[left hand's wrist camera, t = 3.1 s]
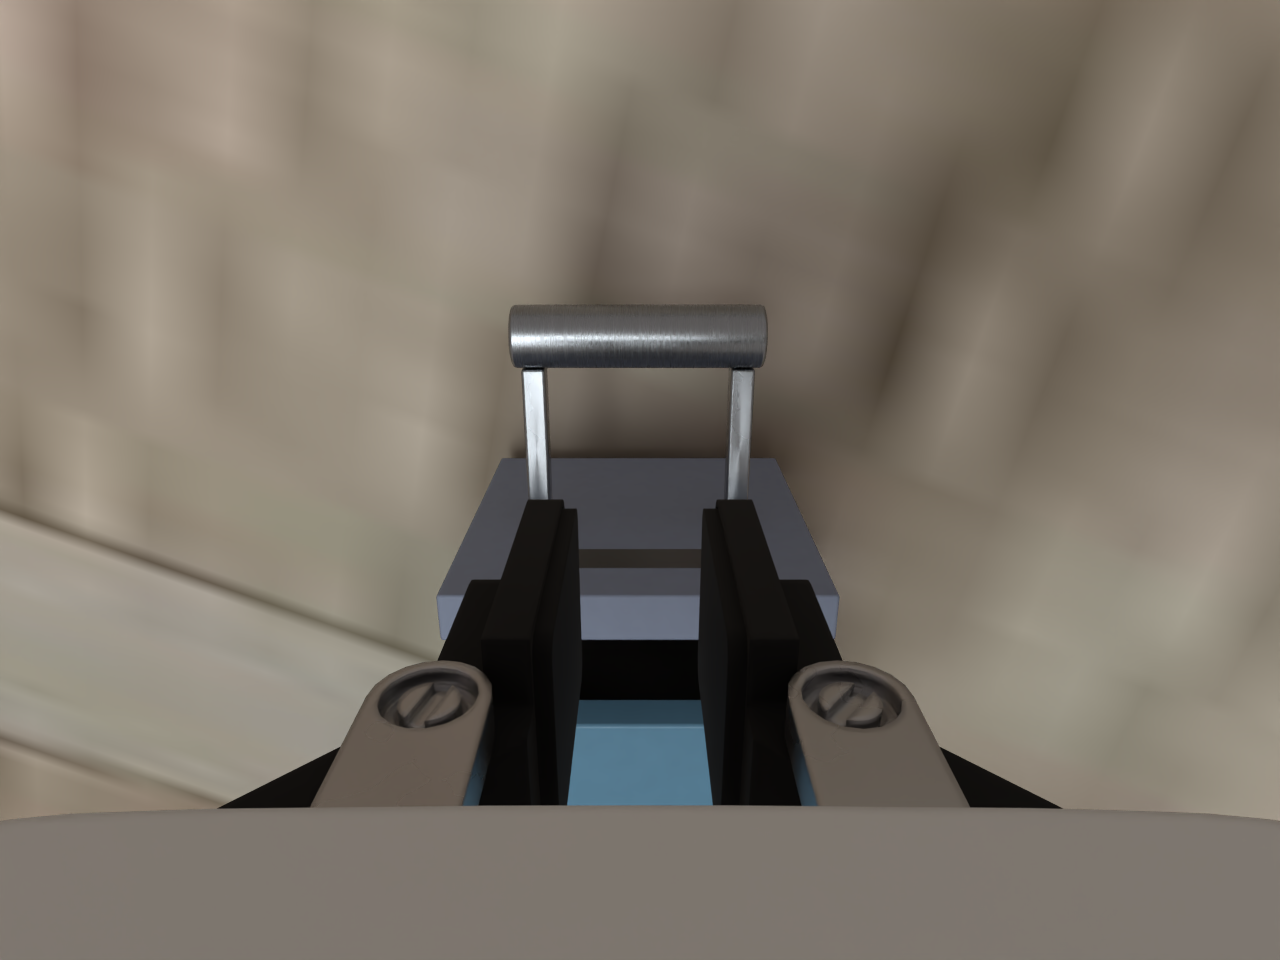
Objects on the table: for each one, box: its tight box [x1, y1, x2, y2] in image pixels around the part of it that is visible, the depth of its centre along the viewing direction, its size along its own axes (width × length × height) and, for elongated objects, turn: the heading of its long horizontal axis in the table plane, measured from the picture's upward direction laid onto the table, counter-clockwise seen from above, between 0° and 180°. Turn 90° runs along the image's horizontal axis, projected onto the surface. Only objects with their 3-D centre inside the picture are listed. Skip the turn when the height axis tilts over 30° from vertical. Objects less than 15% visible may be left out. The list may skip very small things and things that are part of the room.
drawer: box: [436, 305, 839, 700], centre depth 25 cm, size 24×9×9 cm, turn 0°
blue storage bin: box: [567, 700, 713, 806], centre depth 27 cm, size 19×10×11 cm, turn 0°
